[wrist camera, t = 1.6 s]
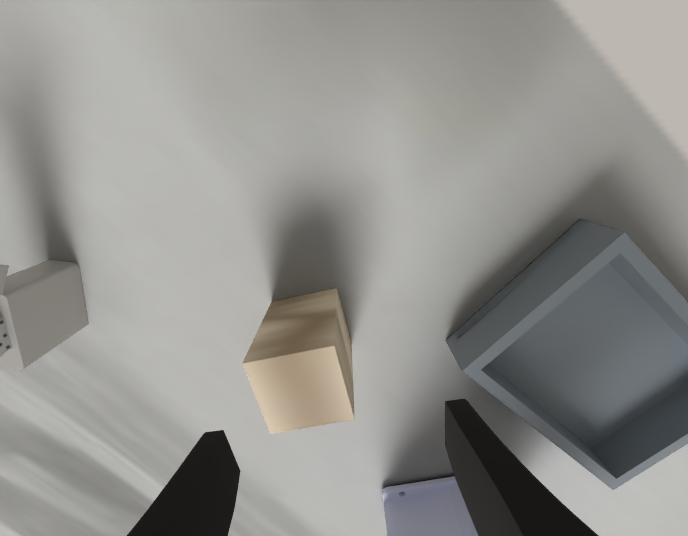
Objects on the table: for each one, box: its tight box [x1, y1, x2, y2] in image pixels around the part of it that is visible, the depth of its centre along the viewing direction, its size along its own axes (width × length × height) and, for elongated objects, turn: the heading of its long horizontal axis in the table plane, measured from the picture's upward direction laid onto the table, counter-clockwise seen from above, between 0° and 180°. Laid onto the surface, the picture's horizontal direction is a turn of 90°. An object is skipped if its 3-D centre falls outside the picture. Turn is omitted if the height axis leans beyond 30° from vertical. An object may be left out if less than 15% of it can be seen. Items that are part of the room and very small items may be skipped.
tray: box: [446, 219, 688, 490], centre depth 19 cm, size 10×14×3 cm
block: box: [242, 288, 354, 434], centre depth 17 cm, size 4×4×6 cm
